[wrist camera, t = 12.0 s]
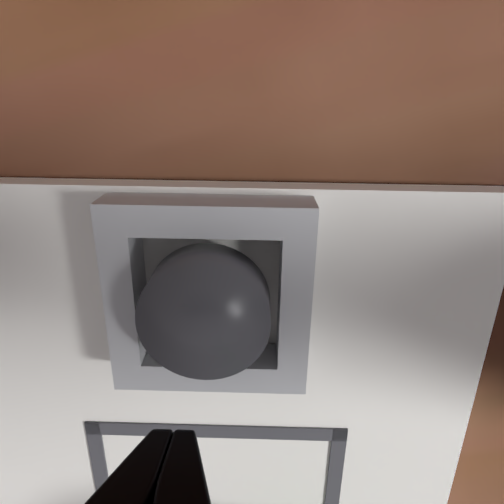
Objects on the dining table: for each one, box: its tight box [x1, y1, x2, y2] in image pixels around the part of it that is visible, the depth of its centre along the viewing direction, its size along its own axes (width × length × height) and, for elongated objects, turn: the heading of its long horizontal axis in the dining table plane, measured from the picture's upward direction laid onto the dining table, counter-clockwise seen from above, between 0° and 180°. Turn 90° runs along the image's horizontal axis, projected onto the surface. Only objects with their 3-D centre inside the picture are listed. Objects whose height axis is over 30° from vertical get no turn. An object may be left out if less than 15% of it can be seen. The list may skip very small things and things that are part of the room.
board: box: [0, 177, 504, 504], centre depth 17 cm, size 20×20×2 cm
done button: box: [135, 243, 271, 380], centre depth 13 cm, size 4×4×2 cm
